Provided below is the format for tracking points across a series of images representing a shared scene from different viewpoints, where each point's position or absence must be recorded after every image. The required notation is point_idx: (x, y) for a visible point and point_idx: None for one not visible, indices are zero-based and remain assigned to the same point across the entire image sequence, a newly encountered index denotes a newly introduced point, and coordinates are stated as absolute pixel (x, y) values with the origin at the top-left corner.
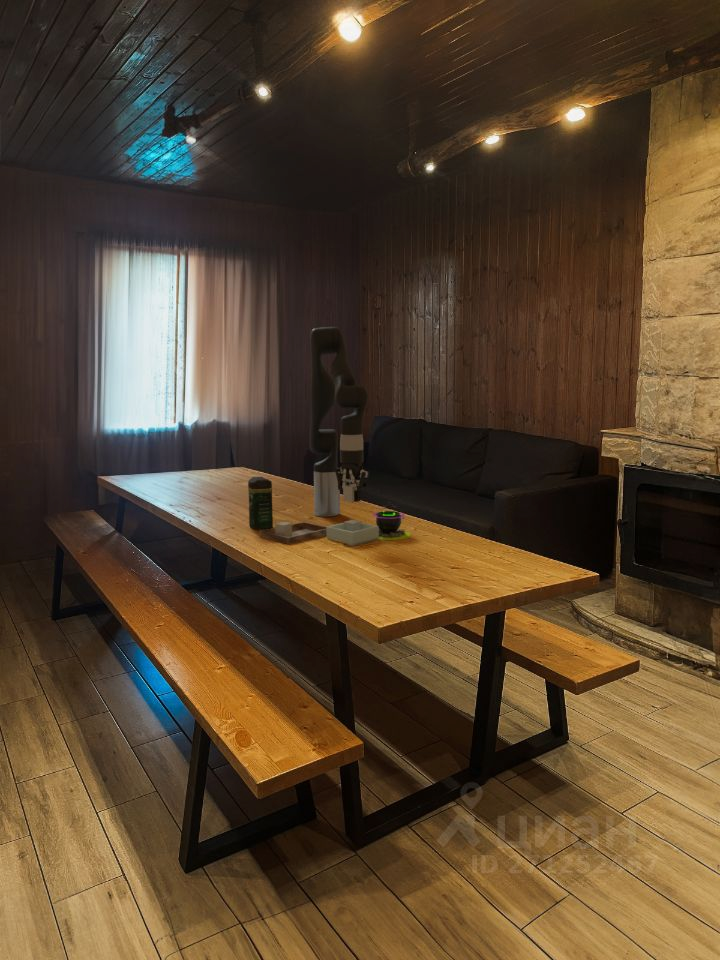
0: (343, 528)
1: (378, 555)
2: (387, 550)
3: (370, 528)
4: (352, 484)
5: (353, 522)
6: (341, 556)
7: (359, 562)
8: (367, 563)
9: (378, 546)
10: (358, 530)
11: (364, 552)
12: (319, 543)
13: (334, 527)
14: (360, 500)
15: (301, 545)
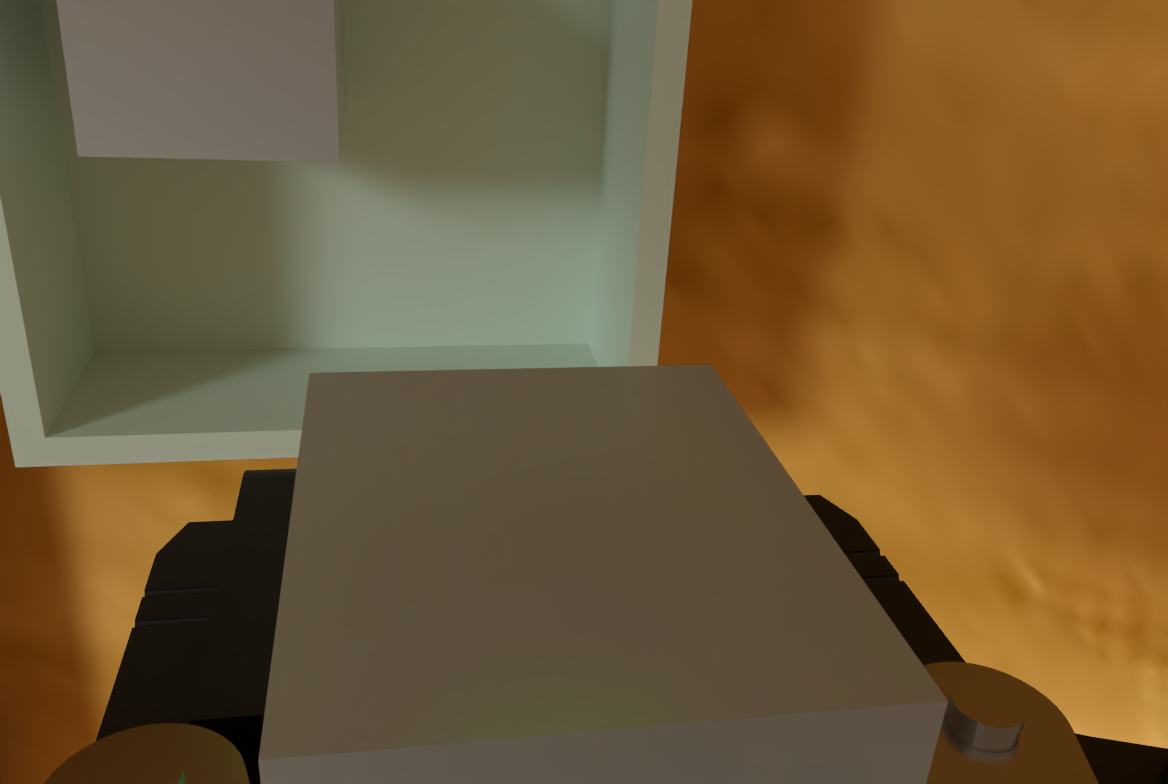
0: (9, 45)
1: (1064, 424)
2: (1059, 205)
3: (687, 22)
4: (348, 777)
5: (283, 80)
6: None
7: None
8: (1095, 660)
9: (871, 130)
10: (637, 300)
11: (877, 441)
12: (163, 531)
13: (34, 298)
14: (711, 377)
15: (92, 717)
